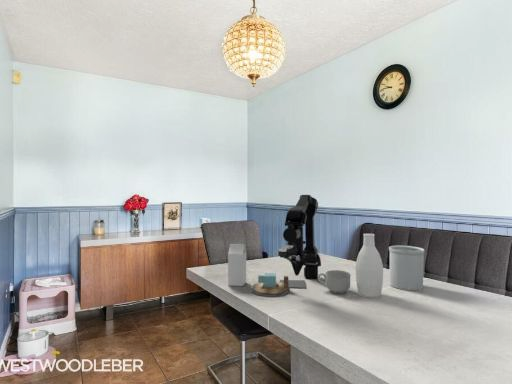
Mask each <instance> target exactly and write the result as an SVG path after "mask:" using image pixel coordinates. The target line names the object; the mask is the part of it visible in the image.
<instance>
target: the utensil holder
mask: <svg viewBox="0 0 512 384" xmlns="http://www.w3.org/2000/svg"><path fill="white" fill-rule="evenodd" d="M388 251H389V285H390V286H391V287H393V288H395V289H399V290H403V291H421V290H423V287H424V271H425V270H424V266H425V262H424V261H425V259H424V258H425V252H426V251H425V249H424V248H422V247H418V246H412V245H391V246H388Z"/></svg>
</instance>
